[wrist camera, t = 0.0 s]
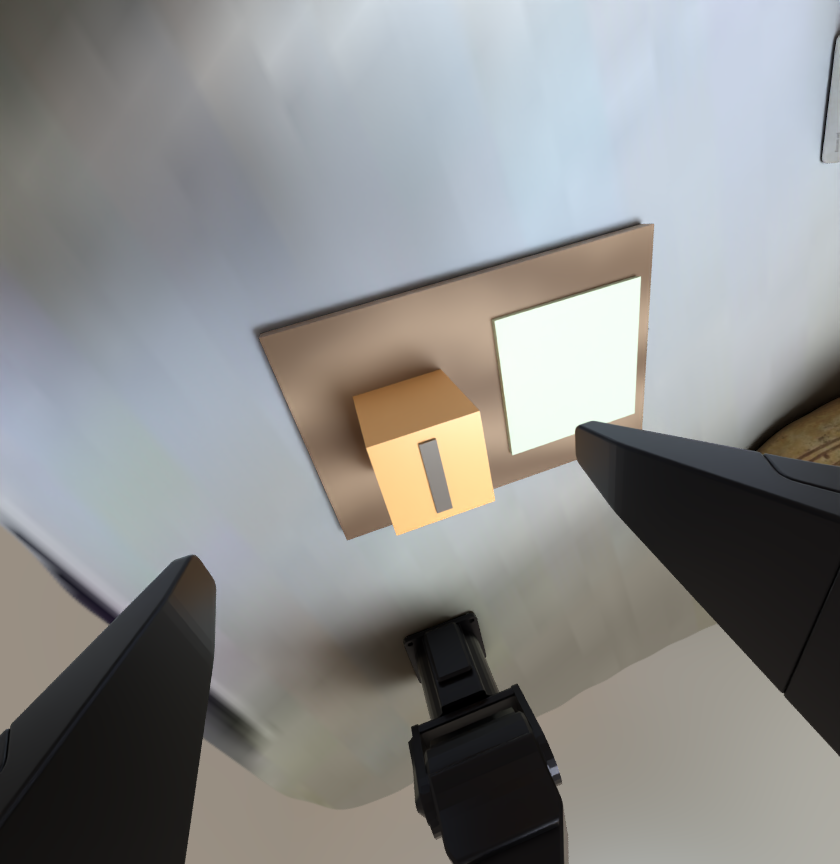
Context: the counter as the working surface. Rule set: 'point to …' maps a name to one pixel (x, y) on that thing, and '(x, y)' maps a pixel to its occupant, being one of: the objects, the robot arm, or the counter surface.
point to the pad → (568, 363)
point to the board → (439, 361)
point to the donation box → (425, 449)
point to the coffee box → (833, 114)
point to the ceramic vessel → (810, 437)
